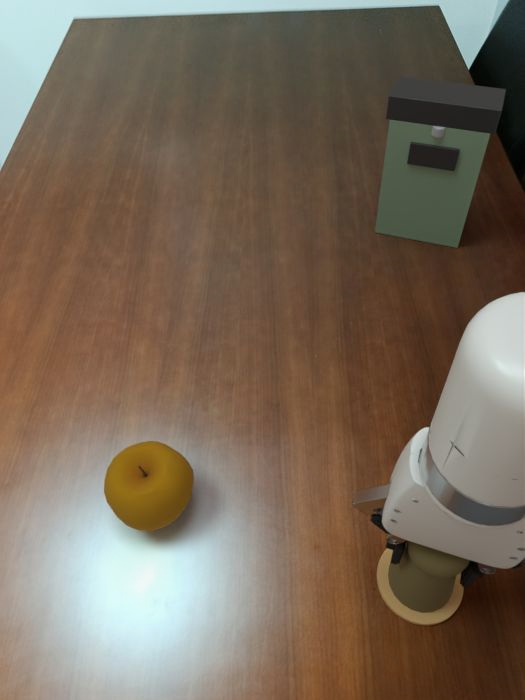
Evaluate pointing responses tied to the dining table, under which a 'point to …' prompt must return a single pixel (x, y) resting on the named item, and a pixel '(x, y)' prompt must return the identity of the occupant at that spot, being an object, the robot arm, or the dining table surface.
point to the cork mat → (404, 611)
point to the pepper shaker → (425, 577)
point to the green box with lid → (434, 157)
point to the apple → (148, 485)
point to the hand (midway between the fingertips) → (431, 557)
